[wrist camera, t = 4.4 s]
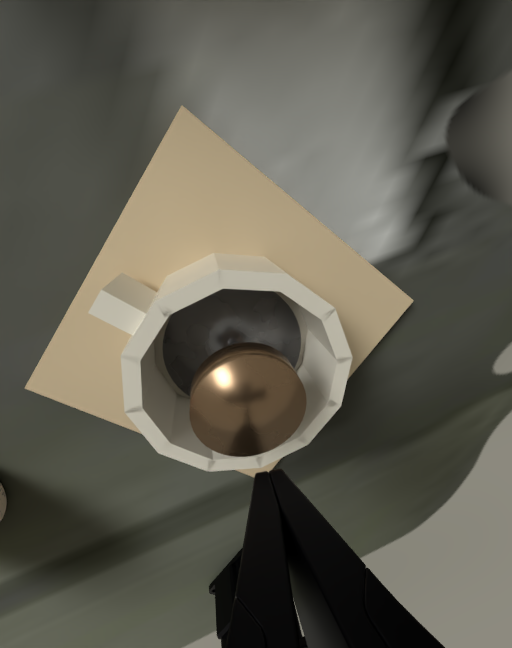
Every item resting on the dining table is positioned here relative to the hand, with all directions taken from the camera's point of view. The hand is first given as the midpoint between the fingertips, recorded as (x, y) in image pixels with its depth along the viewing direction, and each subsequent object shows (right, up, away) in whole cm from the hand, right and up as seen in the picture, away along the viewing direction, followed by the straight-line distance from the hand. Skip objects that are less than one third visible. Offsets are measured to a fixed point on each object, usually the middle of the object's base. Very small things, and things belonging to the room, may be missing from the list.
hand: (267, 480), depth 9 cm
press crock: (-2, +4, +11) cm, 12 cm away
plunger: (-2, +4, +9) cm, 10 cm away
